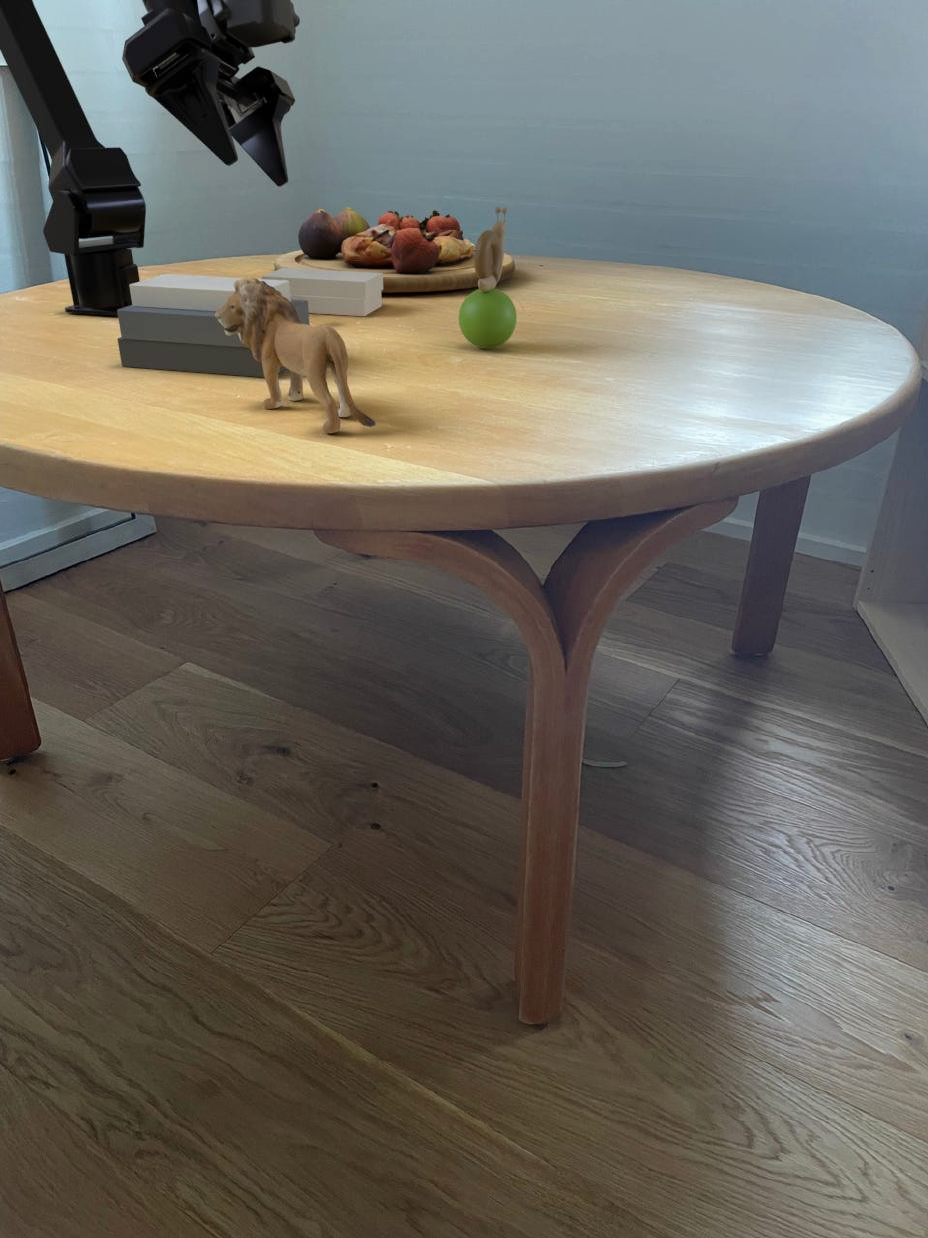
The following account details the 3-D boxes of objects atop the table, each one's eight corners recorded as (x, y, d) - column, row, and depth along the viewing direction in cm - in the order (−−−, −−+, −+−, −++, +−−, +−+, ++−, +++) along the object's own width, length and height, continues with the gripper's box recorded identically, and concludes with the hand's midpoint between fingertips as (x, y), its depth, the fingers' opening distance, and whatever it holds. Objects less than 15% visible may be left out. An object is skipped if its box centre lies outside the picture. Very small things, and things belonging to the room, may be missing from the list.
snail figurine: (525, 341, 90) (530, 207, 84) (506, 356, 85) (510, 214, 79) (472, 337, 92) (474, 205, 86) (450, 351, 86) (450, 211, 80)
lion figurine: (216, 401, 71) (201, 278, 67) (270, 387, 75) (259, 270, 70) (348, 442, 63) (341, 305, 58) (402, 424, 66) (399, 294, 62)
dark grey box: (121, 366, 80) (111, 309, 78) (174, 343, 88) (166, 291, 85) (271, 378, 77) (266, 319, 75) (313, 353, 85) (309, 299, 82)
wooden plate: (519, 299, 110) (522, 224, 106) (251, 295, 110) (244, 220, 106) (510, 259, 138) (512, 199, 133) (297, 256, 138) (293, 196, 134)
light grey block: (262, 310, 102) (258, 275, 101) (284, 300, 108) (281, 267, 106) (366, 316, 100) (364, 281, 98) (383, 306, 105) (382, 272, 103)
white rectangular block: (132, 306, 79) (128, 284, 78) (168, 294, 84) (165, 273, 83) (262, 314, 76) (260, 292, 75) (291, 301, 81) (289, 280, 81)
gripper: (190, -119, 66) (285, 92, 68) (302, -17, 84) (375, 148, 86) (78, -26, 70) (171, 170, 72) (207, 53, 88) (280, 209, 89)
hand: (259, 173), depth 80 cm, fingers open, 9 cm apart
